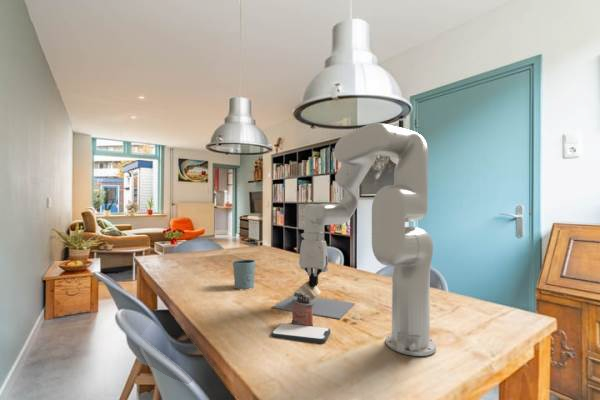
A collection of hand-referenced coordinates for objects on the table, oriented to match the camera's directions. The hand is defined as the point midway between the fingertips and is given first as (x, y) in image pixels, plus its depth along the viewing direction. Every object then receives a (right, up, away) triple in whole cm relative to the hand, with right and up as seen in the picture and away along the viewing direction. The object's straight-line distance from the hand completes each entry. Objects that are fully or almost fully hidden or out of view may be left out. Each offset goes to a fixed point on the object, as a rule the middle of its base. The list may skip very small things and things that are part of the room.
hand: (313, 285), depth 116 cm
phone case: (-5, -7, -26) cm, 28 cm away
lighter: (-4, -7, -20) cm, 21 cm away
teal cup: (-31, -8, +25) cm, 41 cm away
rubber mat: (0, -7, 0) cm, 7 cm away
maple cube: (0, -1, 0) cm, 1 cm away
